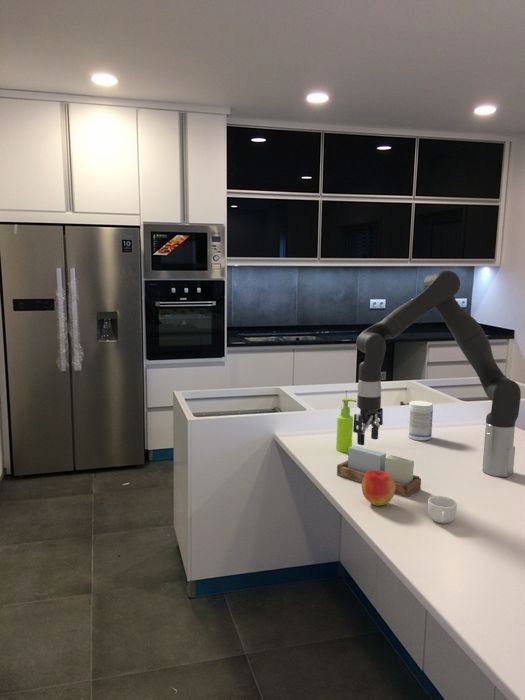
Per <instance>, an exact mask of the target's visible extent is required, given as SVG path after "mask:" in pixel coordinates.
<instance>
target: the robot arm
mask: <svg viewBox="0 0 525 700" xmlns="http://www.w3.org/2000/svg"><path fill="white" fill-rule="evenodd" d="M422 287H423V291H422V292H420V293H419V294H418V295H416V296H415V297H413V298H412V299H410V300H408V301H407V302H405V303H403V304H402V305H400V306H398V307H397V308H395V309H394V310H393V311H391V313H389V314H388V315H386V317H384V318H383V319H381V321H379V322H376V323H375V324H372V325H371V326H370V327H368V328H366V329H364V330H363V331H362V332H361V333H360V334H359V335H358V336H357V338H356V339H355V340H356V341H355V346H356V348H357V350H358V351H360V352H361V353H364V355H365V356H364V361H362V362H360V363H359V366H358V367H359V368H358V384H357V399H356V403H357V405H356V406H357V408H358V409H360V412H359V413H358V414H356V413H354V415H353V430H352V433H356V434H357V435H356V436H357V439H356V441H357V442H356V443H357V444H358V445H359V446H364V445H365V437H366V436H365V435H366V434H365V433H366V431H367V429H368V428H369V426H371V428H370V429H371V431H370V432H371V433H370V434H371V435H370V436H371V440H378V439H379V429H380V427H381V426H382V425H383V424H384V419H383V418H384V417H383V415H384V414H383V413H384V411H383V410H384V409H383V408H382V407H381V406H382V405H381V402H382V381H381V380H382V379H381V378H382V366H383V363H384V359H385V355H386V351H387V350H386V349H387V345H386V340H391V339H392V340H393V339H394V338H397V336H399V335H400V334H402V333H403V332H404V331H405V330H407V328H409V327H410V326H411V325H412V324H414V323H415V322H416V321H417V320H419V319H420V318H421V317H422V316H424V315H425V314H426V313H428V312H430V310H432V309H434V308H435V309H436V311H438V314H439V315H440V317H442V318H441V319H443V321H444V323H445V324H446V327H447V328H448V330H449V331H450V334H452V337H453V338H454V341H455V342H456V344H457V346H458V347H459V348H460V351H462V354H463V355H464V357H465V358H466V360H467V361H468V362H469V365H471V367H472V368H473V370H474V371H475V373H476V376H477V377H478V379H479V382H480V384H481V386H482V388H483V390H484V393H485V395H486V397H487V398H488V399H489V400H490V401H491V410H490V412H489V413H487V414H486V417H485V428H484V441H483V442H484V443H483V455H482V469H481V470H482V472H483V473H485V474H487V475H490V476H494V477H500V478H501V477H502V478H509V477H510V476H511V475H512V474H514V466H515V456H516V455H515V454H516V446H514V442H515V431H516V430H515V429H516V422H517V420H518V418H519V413H520V406H521V399H522V396H521V395H522V394H521V393H522V392H521V388H520V385H519V384H518V383H517V382H515V381H514V380H512V379H510V378H508V377H506V375H505V374H504V373H503V372H502V370H501V369H500V367H499V366H498V364H497V363H496V361H495V358H494V355H493V350H492V346H491V343H490V340H489V338H488V337H487V335H486V333H485V331H484V329H483V328H482V326H481V325H480V324H479V322H478V321H477V320H476V319H475V318H474V317H473V316H472V315H470V314H469V313H468V312H467V311H466V310H465V309H464V308H463V307H462V306H461V305H460V304H459V302H458V301H457V299H456V298H455V296H456V294H458V292H459V290H460V288H461V280H460V277H459V276H458V275H457V273H456V272H455V271H452V270H441V271H437V272H436V271H435V272H433V273H429V274H428V275H426V277H425V278H424V280H423V284H422Z"/></svg>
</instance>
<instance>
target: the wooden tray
mask: <svg viewBox="0 0 525 700" xmlns="http://www.w3.org/2000/svg"><path fill="white" fill-rule="evenodd" d="M336 465H337V466H336V476H338V477H342V478H345V479H348V480H352V481H354V480H355V481H354V482H357V481H358V483H361V484H362V481H363V477H364V475H365V474H366V473H363V472H360V471H356V470H353V469H350V468H348V459H347V460H346V461H343V462H341V463H338V464H336ZM394 483H395V486H396V490H395V494H396V493H397V495H399V496H403V497H406V498H408V497H409V498H410V496H412V495H414V494H415V493H417V492H419V491H420V490H421V488H422V487H421V486H422V485H421V484H422V478H420V476H419V475H415V474H413V481H411V482H409V483H407V484H405V485H404V484H400V483H397V482H394Z"/></svg>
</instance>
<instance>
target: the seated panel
mask: <svg viewBox="0 0 525 700" xmlns="http://www.w3.org/2000/svg"><path fill="white" fill-rule="evenodd" d="M414 467H415V460H411V459H408V458H404V457H400V456H396V455H392V454H390V455H389V456H386V458H385V472H386V473H388V474H389V475H390V476H391V477H392V479H393V480H394V482H397V483H400V484H404V485H405V484H407V483H409V482H411V481H413V475H414Z"/></svg>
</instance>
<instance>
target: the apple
mask: <svg viewBox="0 0 525 700" xmlns="http://www.w3.org/2000/svg"><path fill="white" fill-rule="evenodd" d="M395 490H396V486H395V483H394V480H393V479H392V477H391V476H390V475H389V474H388V473H386V472H384V471H378V470H369V471H368V472H367V473H366V474H365V475H364V477H363V481H362V483H361V491H362V494H363V497H364V498H365V499H366V500H367V501H368V502H369V503H370V504H371V505H373V506H378V507H379V506H385V505H387V504H389V503H390V501H392V499H393V498H394V495H395V494H396V493H395Z"/></svg>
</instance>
